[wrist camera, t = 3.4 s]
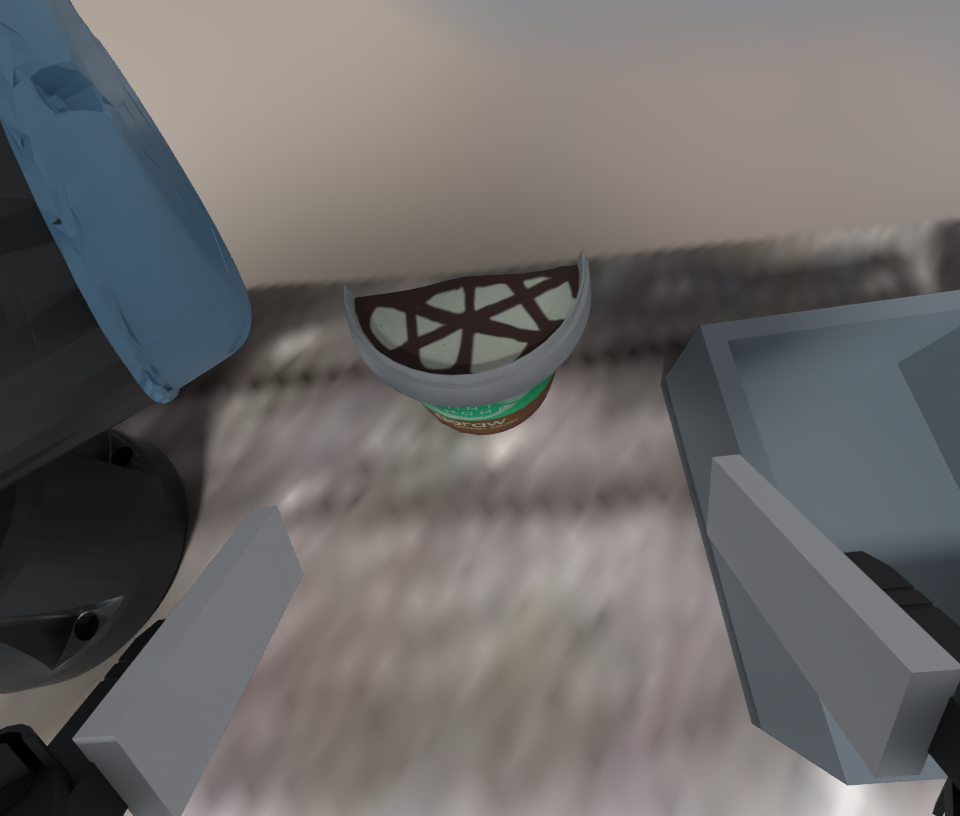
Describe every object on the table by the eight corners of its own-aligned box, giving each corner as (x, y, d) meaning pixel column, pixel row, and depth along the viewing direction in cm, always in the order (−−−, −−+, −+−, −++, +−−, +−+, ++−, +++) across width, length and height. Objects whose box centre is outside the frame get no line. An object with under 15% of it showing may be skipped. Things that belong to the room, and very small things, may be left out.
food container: (395, 464, 28) (327, 407, 19) (392, 376, 30) (331, 286, 21) (592, 440, 27) (624, 368, 18) (575, 351, 30) (595, 247, 20)
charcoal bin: (751, 723, 22) (847, 785, 15) (660, 384, 28) (699, 324, 22) (1064, 698, 21) (1310, 752, 14) (894, 354, 27) (1009, 283, 21)
